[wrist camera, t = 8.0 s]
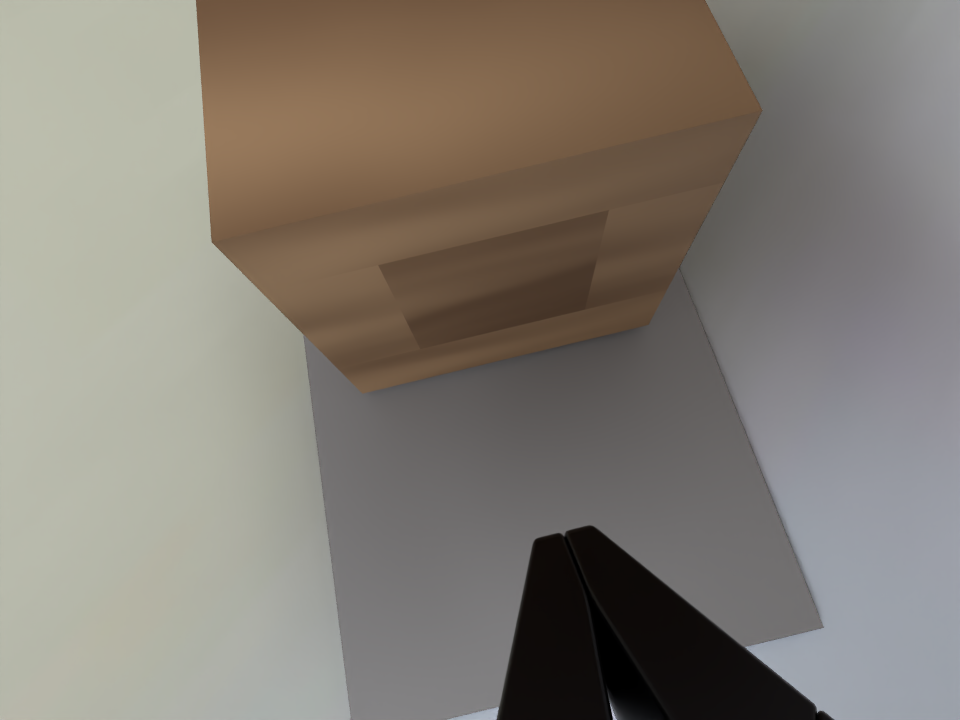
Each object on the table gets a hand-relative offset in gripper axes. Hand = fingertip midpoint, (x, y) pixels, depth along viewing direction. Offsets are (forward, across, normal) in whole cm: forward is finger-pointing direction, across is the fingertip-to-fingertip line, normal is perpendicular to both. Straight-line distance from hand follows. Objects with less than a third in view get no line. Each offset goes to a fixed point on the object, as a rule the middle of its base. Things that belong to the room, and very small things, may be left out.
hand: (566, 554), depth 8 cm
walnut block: (+11, 0, -2) cm, 11 cm away
